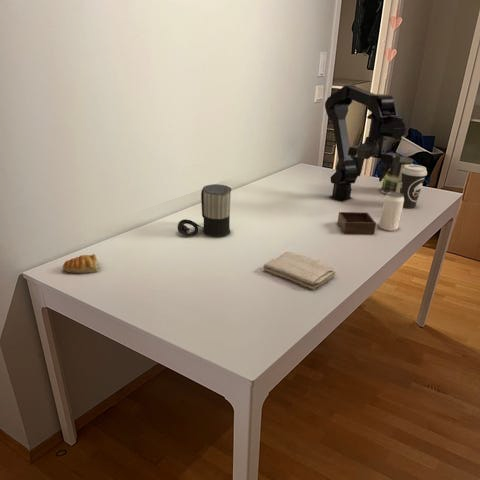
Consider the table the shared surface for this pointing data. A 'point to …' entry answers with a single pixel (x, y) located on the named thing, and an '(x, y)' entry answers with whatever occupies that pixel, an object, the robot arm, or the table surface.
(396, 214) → the can
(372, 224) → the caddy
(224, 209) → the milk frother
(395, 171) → the coffee can
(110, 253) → the table surface
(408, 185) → the coffee cup
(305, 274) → the washcloth
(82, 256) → the pastry
